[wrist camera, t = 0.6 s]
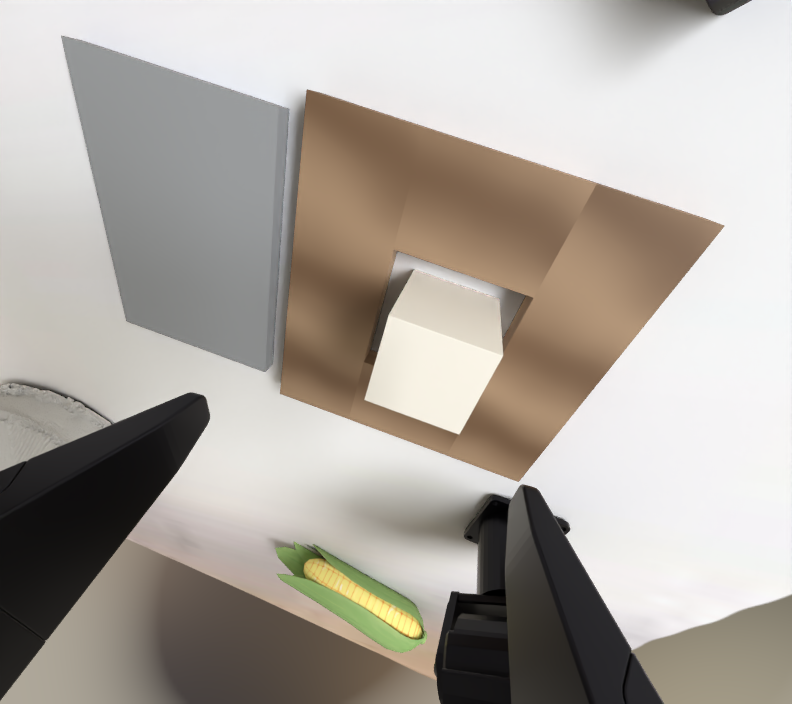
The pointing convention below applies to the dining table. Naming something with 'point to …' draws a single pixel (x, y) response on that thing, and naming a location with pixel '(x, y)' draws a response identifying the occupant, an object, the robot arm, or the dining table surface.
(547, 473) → the dining table surface
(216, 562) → the dining table surface
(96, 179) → the grey mat
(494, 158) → the pocket plate
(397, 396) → the white block
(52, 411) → the grey stone disc
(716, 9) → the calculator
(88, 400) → the dining table surface
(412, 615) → the edible corn
